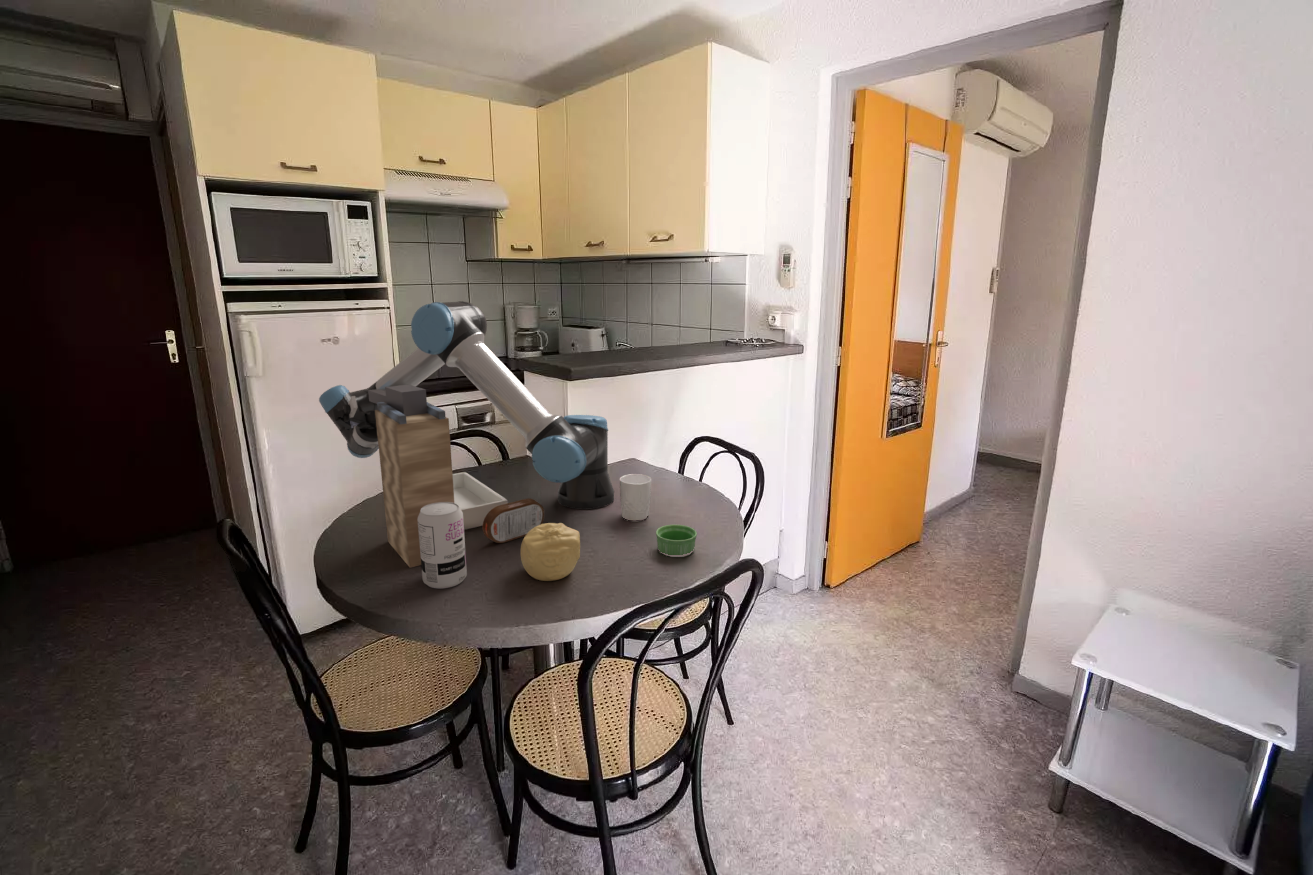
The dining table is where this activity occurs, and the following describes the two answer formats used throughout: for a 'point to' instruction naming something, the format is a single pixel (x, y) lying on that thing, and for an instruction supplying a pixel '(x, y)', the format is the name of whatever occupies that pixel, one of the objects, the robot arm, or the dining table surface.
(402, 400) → the dark grey rectangular block
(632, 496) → the white cup
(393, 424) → the stand
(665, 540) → the ramekin
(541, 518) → the tin
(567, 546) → the sculpture
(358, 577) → the dining table surface
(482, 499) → the bin
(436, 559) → the supplement can
